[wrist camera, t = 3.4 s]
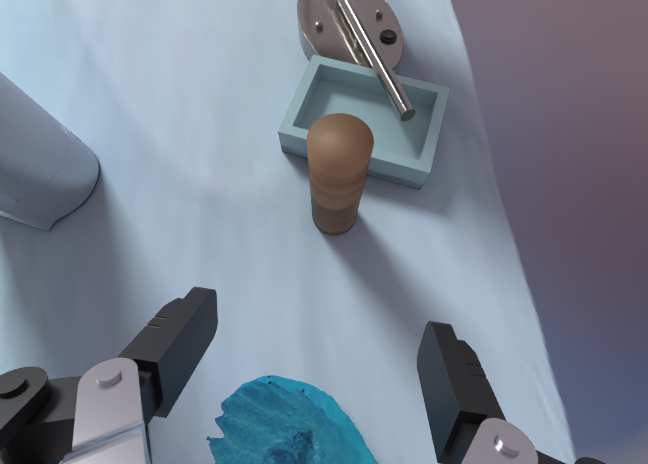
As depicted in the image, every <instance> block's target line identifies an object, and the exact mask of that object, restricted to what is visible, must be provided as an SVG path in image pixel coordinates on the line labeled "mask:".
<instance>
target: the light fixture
mask: <svg viewBox="0 0 648 464" xmlns="http://www.w3.org/2000/svg"><path fill="white" fill-rule="evenodd" d="M297 15H298V30H299V37H300V42H301V45H302V48H303V50H304V52H305V54H306V56H307V58H308V59H309V61H311V58H312V56H313V55H317V56H322V57H326V58H330V59H334V60H338V61H342V62H347V63H351V64H355V65H359V66H363V67H367V68H372V69H374V71H375V73H376V75H377V77H378V79H379V81H380V83H381V84H382V86H383V88H384V90H385V92H386V94H387V96H388V98H389V99H390V101H391V103H392V105H393V107H394V109H395V111H396V113H397V115H398V116H399V118H400V120H401V121H402V122H405V121H408V120H410V119H412V118H413V117H414V115H415V114H416V110H415V108H414V107H413V105H412V103H411V101H410V100H409V98H408V96H407V94H406V92H405V91H404V89H403V87H402V85H401V84H400V82H399V80H398V78H397V77H396V75H395V74H397V70H398V67H399V63H400V59H401V55H402V51H403V35H402V30H401V27H400V24H399V22H398V20H397V18H396V16H395V14H394V12H393V11H392V9H391V8H390V7H389V5H388V4H387V3H386V2H385V1H384V0H298V4H297Z"/></svg>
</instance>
